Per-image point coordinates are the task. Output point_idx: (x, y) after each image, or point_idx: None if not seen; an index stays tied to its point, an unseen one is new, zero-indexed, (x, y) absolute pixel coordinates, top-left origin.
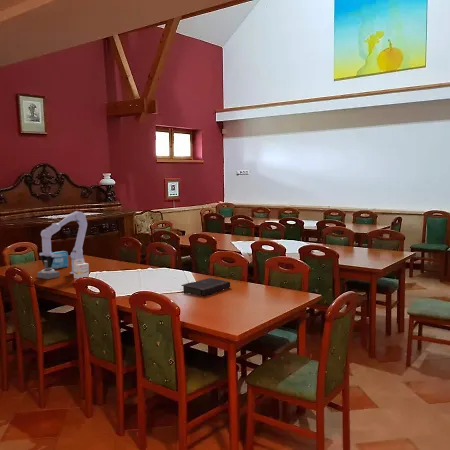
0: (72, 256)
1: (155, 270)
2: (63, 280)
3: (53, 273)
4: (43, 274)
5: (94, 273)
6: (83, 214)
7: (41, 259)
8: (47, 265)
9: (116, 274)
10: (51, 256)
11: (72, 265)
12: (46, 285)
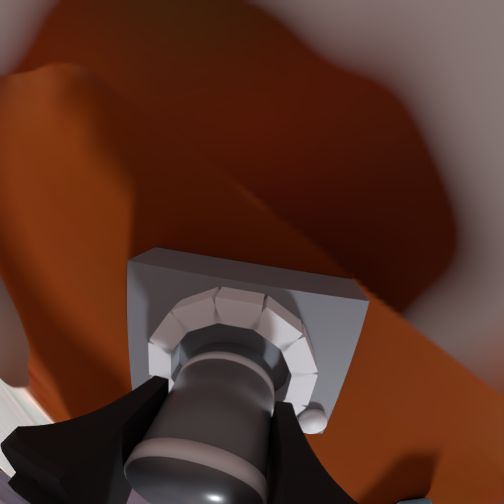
0: None
1: (7, 465)
2: (31, 261)
3: (131, 332)
4: (223, 273)
5: None
6: None
7: (331, 492)
8: (174, 395)
9: (9, 429)
10: (6, 484)
11: (132, 498)
12: (31, 84)
